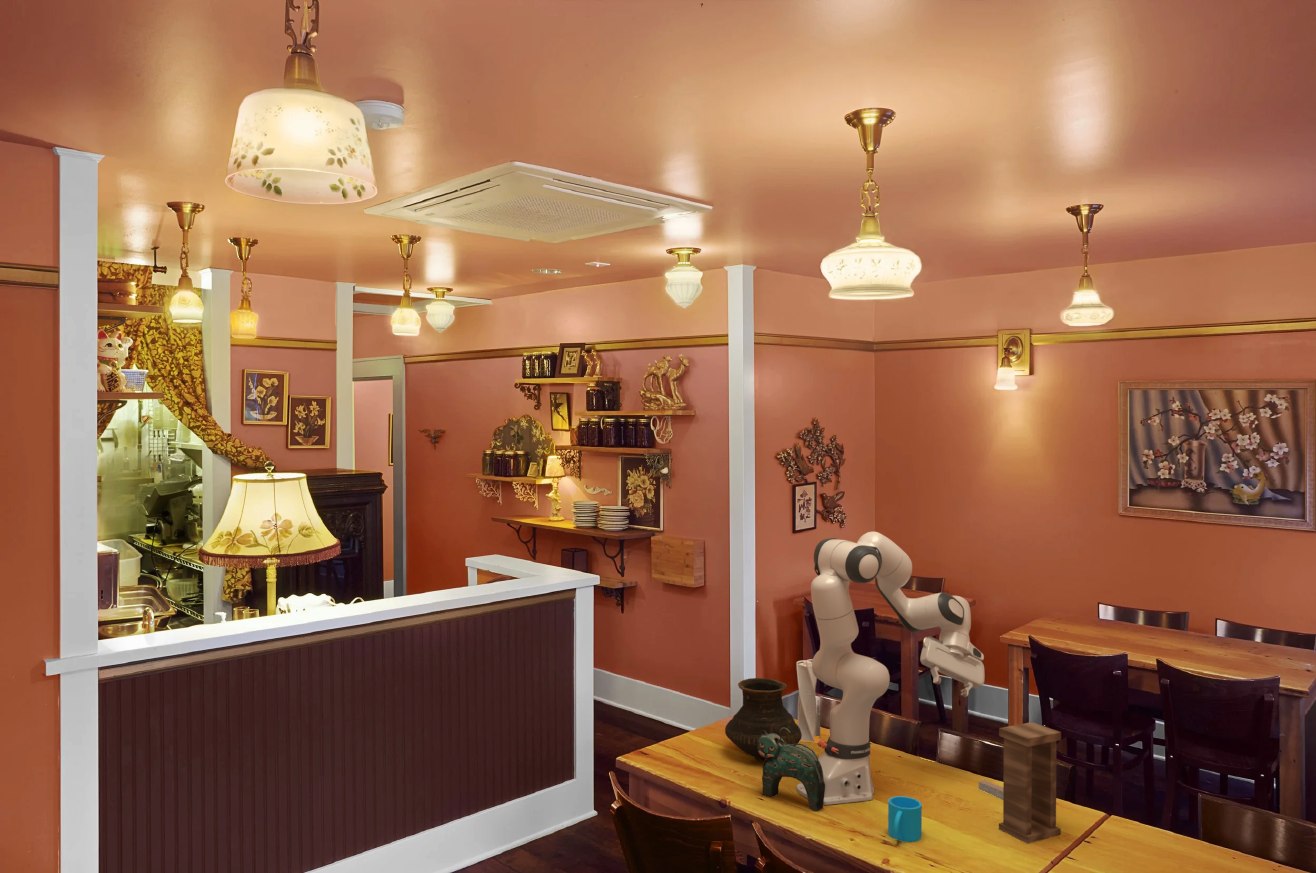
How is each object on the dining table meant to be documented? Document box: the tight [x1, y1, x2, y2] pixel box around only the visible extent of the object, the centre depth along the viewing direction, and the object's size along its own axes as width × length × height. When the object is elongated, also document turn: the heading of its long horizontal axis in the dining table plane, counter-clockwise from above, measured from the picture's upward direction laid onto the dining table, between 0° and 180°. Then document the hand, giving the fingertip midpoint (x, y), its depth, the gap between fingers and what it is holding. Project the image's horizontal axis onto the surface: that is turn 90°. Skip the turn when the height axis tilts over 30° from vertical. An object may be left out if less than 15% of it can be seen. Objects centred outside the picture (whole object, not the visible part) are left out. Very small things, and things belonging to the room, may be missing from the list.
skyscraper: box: [796, 658, 821, 742], centre depth 293 cm, size 8×8×28 cm
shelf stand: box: [998, 722, 1062, 844], centre depth 224 cm, size 12×9×26 cm
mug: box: [887, 795, 923, 843], centre depth 220 cm, size 12×8×8 cm
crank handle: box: [978, 779, 1003, 801], centre depth 246 cm, size 17×7×6 cm, turn 31°
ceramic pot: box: [724, 677, 802, 760], centre depth 278 cm, size 24×24×22 cm
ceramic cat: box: [757, 727, 825, 812], centre depth 242 cm, size 20×6×20 cm, turn 50°
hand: (950, 689), depth 255 cm, fingers open, 8 cm apart
